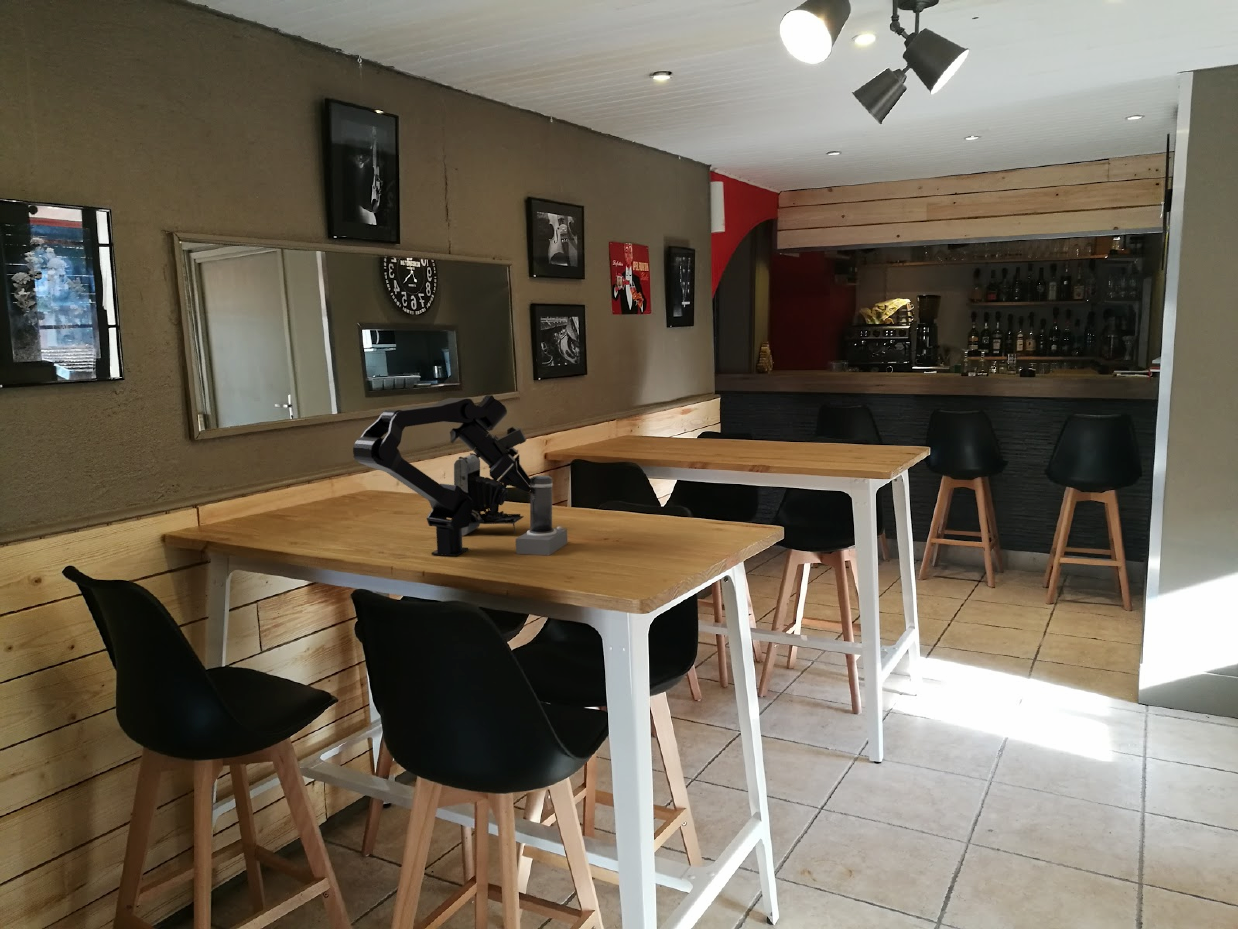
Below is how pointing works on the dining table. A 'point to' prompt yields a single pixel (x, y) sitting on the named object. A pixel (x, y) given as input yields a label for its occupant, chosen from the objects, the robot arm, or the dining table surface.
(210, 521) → the dining table surface
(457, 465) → the vintage camera
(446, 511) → the robot arm
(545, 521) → the dark grey cylinder
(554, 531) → the grey rectangular block
